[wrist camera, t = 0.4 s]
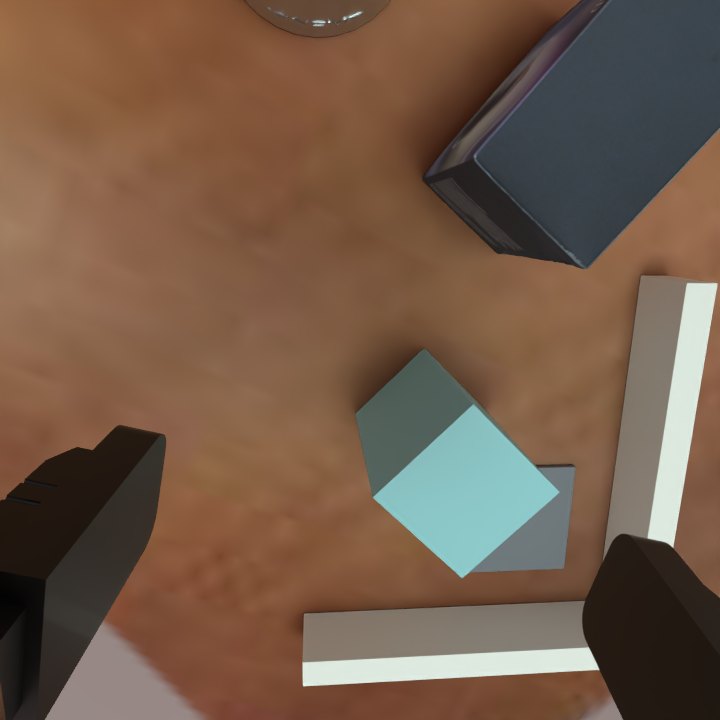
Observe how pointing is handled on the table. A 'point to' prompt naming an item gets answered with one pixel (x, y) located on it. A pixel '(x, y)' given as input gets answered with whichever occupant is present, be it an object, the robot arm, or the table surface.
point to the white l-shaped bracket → (548, 528)
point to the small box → (587, 128)
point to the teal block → (447, 465)
